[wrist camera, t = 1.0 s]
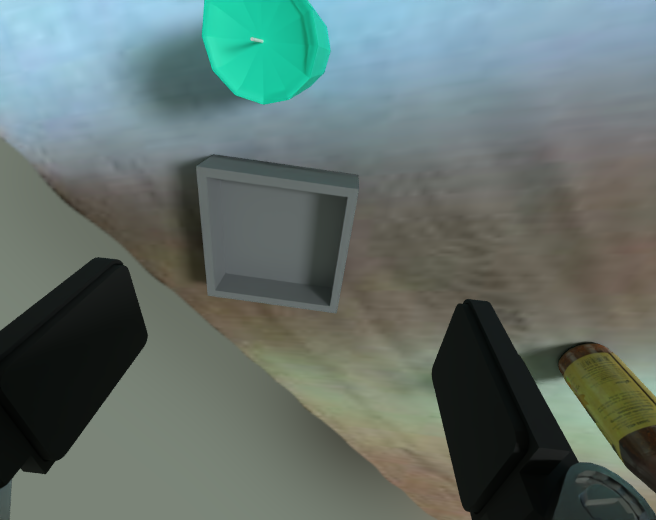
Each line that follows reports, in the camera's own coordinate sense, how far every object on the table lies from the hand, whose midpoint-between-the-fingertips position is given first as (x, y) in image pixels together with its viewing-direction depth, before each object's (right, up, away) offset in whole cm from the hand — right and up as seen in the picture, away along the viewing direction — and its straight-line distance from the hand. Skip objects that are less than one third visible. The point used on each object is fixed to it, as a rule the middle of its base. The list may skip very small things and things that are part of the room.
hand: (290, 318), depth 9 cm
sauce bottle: (+33, -11, +31) cm, 47 cm away
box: (-4, +5, +24) cm, 25 cm away
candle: (-2, +18, +16) cm, 25 cm away
